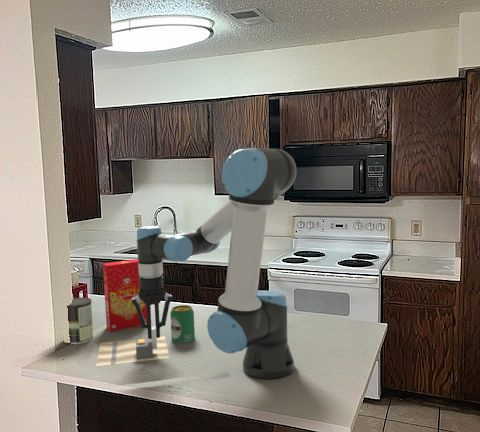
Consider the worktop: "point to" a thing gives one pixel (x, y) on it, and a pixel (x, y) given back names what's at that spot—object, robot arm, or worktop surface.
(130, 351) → the beige flat sheet
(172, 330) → the beverage can
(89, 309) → the coffee can
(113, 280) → the food packaging
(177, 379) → the worktop surface
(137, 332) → the worktop surface
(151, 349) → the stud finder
